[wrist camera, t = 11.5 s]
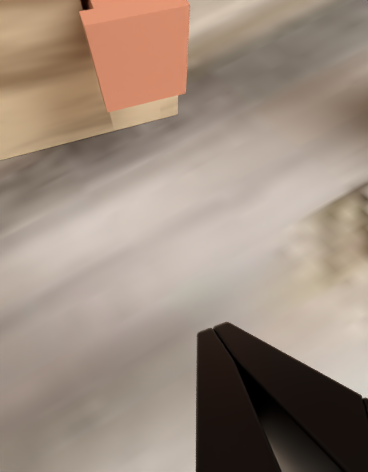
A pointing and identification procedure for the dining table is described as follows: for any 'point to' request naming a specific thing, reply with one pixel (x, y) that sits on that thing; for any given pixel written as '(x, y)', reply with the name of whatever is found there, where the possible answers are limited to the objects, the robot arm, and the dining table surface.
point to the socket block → (54, 80)
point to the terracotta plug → (137, 49)
